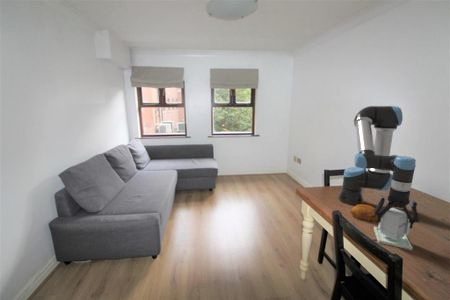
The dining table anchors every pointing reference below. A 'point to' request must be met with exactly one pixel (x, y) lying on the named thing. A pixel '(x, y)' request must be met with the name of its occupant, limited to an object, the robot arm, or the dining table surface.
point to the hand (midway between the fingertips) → (392, 230)
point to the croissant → (364, 212)
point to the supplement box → (394, 223)
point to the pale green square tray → (392, 240)
